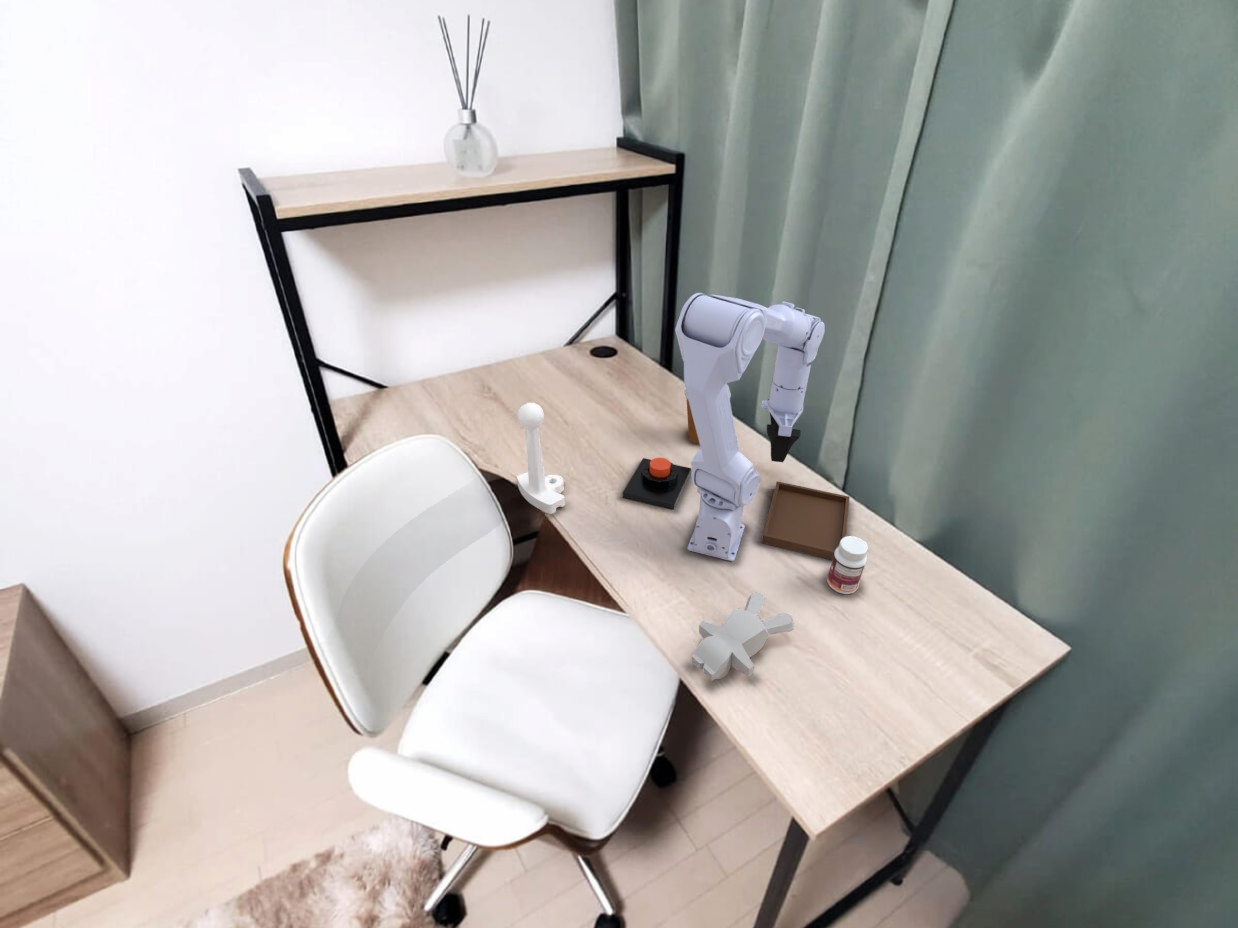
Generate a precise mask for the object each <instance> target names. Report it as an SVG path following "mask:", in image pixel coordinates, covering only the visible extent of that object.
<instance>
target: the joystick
mask: <svg viewBox="0 0 1238 928" xmlns="http://www.w3.org/2000/svg"><path fill="white" fill-rule="evenodd" d="M517 419H518V422H519V424H520V425H521V426H522V427H523V428H524V429H525V439H526V454H527V455H526V456H527V458H526V460H527V471H526V472H524V473H521V474H519V475H517V476H516V481H517V482H516V483H517V488H518V490H519V492H520V494H521V496H522V497H523V498H524V499H525V500H526V501H527V502H528V503H529V504H530V505H532V506H533V507H535V508H536V509H538V510H540V511H541V512H543V513H547V514H549V515H552V514H554V513H556V512H557V508H559V507H561V508H563V507H565V505H566V497H565V495H564V494H561V493H563V492H564V489H565V485H564V484H565V483H564V478H563V477H562V476H561V475H559V474H549V475H546V473H545V466H544V458H543V451H542V444H541V436H540V426H541V425H542V424H543V422H544V419H545V413H544V409H543V408H542V406H540V404H539V403H538V404H537V403H535V402H526V403H524V404H523V405H521V407H520V408H519V409H518V411H517Z"/></svg>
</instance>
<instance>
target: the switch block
mask: <svg viewBox="0 0 1238 928" xmlns="http://www.w3.org/2000/svg"><path fill="white" fill-rule="evenodd" d="M651 460H652V459H650V458H646V457H643V458H642V459H641V461H640V462H639V464H638V466H637V467H636V469H635V471H634V473H633V475H632V476H631V478H630V479H629V481H628V482H627V484H626V486H625V487H624V489H623V490H622V499H626V500H630V501H635V502H639V503H642V504H648V505H652V506H655V507H660V508H664V509H668V510H671V511H672V510H673V511H675V509H676V507H677V505H678V502H679V501H680V498H681V496H682V494H683V492H684V489H685V488H686V485H687V483H688V481H689V478H691V472H692V467H688V466H683V465H678V464H674V463H672V462H671V461H670V463H671V469H670V474H669V475H668V476H667V477H661V478H659V477H654V476H652V475H651V474H650V472H649V468H650V461H651Z"/></svg>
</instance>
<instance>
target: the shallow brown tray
mask: <svg viewBox="0 0 1238 928" xmlns="http://www.w3.org/2000/svg"><path fill="white" fill-rule="evenodd" d="M850 499H851V498H850V496H849V495H844V494H840V493H835V492H829V491H826V490H825V491H824V490H820V489H816V488H811V487H806V486H801V485H797V484H793V483H787V482H782V481H776V483H775V487H774V491H773V494H772V498H771V502H770V506H769V510H768V513H767V517H766V521H765V524H764V528H763V532H762V537H761V542H760V543H761V544H765V545H768V546H773V547H777V548H781V549H786V550H790V551H793V552H797V553H802V554H805V555H810V556H814V557H819V558H823V559H827V560H830V561H832V560H833V556H834V552H835V550H836V549H837V548H838V547H839V544H840V541H841V539H842V538H844V537H846V536H847V527H848V517H849V506H850Z"/></svg>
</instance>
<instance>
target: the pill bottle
mask: <svg viewBox="0 0 1238 928" xmlns="http://www.w3.org/2000/svg"><path fill="white" fill-rule="evenodd" d="M868 551H869V546H868V544H867V542H866V541H865V540H863V539H862V538H860V537H858V536H854V535H846V537H844V538H842V539H841V541H840V544H839V547H838V548H837V549H836V550H835V552H834V556H833V560H831V564H830V567H829V570H828V574H827V578H826V581H827V584H828V586H829V587H830V588H831V589H832V590H834V591H835V592H837V593H839V594H841V595H842V594H843V595H850V594H854V593H855V592H856V591H857V590H858V589H859V586H860V583H861V580H862V577H863V574H864V571H865V568H866V565H867V563H868V557H867V554H868Z"/></svg>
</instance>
